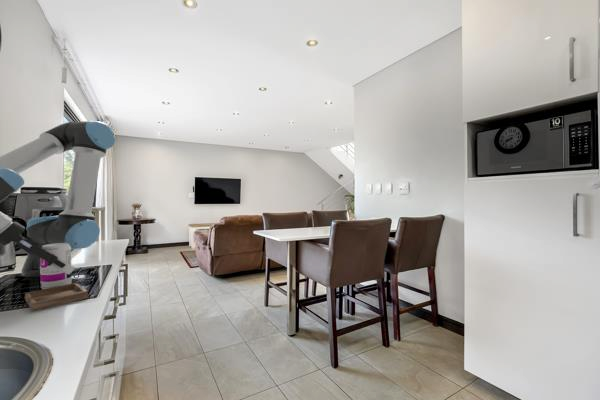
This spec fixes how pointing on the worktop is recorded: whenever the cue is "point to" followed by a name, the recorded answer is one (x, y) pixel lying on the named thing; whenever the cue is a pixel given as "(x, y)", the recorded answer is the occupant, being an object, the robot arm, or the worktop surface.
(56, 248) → the supplement can
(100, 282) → the worktop surface
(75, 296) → the walnut tray
